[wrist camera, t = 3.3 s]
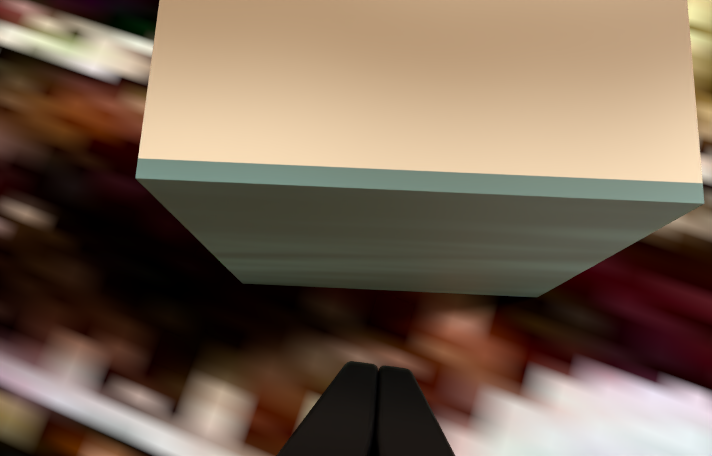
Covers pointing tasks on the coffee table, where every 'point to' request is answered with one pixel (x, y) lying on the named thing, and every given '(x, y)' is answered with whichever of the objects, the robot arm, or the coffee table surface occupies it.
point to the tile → (421, 137)
